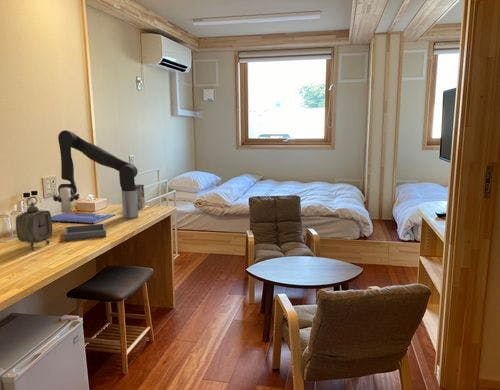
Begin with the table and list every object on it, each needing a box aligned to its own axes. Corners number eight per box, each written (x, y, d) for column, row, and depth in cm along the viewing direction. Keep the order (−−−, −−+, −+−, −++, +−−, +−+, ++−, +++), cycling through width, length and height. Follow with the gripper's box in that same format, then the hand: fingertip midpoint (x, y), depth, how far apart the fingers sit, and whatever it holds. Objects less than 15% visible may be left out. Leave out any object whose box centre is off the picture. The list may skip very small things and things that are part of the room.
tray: (104, 229, 231) (104, 223, 230) (106, 236, 217) (105, 230, 217) (65, 233, 223) (65, 226, 223) (65, 241, 210) (64, 234, 209)
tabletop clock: (33, 252, 192) (28, 200, 188) (16, 250, 194) (11, 199, 189) (53, 243, 206) (49, 194, 201) (37, 241, 208) (33, 193, 203)
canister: (72, 210, 229) (70, 187, 227) (71, 212, 224) (70, 189, 222) (61, 211, 227) (59, 188, 225) (61, 213, 223) (59, 189, 220)
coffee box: (136, 206, 287) (134, 184, 284) (145, 207, 287) (144, 184, 284) (132, 209, 278) (130, 186, 275) (141, 210, 278) (140, 186, 275)
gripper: (52, 188, 234) (50, 194, 219) (79, 187, 239) (79, 192, 224) (53, 201, 236) (51, 207, 220) (80, 199, 241) (80, 205, 225)
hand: (65, 200), depth 222 cm, fingers closed on canister, 5 cm apart
